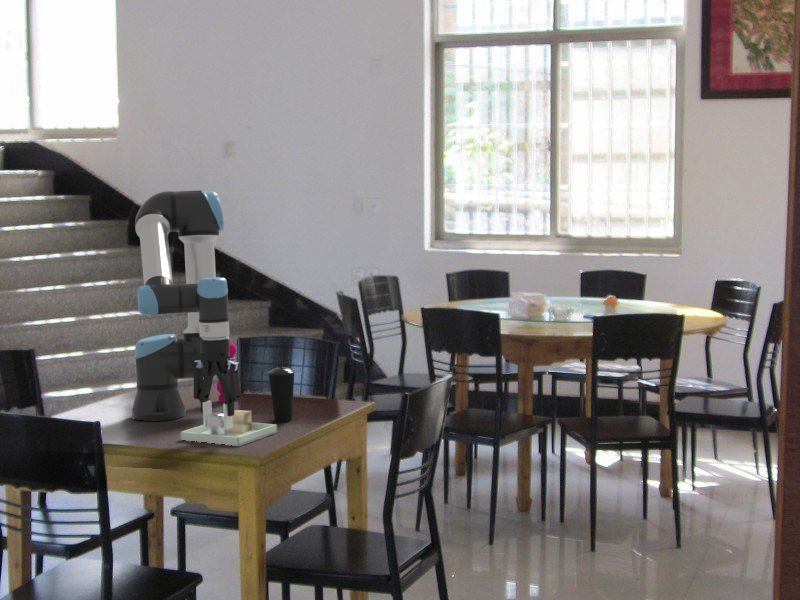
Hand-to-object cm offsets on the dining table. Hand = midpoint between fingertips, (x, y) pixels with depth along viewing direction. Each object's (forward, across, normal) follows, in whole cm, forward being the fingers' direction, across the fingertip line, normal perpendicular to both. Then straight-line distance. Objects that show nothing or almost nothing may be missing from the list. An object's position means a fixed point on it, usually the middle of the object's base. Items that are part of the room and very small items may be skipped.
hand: (218, 427), depth 280 cm
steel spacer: (+3, 0, 0) cm, 3 cm away
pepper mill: (+4, -32, +47) cm, 57 cm away
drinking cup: (+4, +1, +28) cm, 28 cm away
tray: (+3, 0, +4) cm, 6 cm away
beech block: (+3, 0, +9) cm, 9 cm away
